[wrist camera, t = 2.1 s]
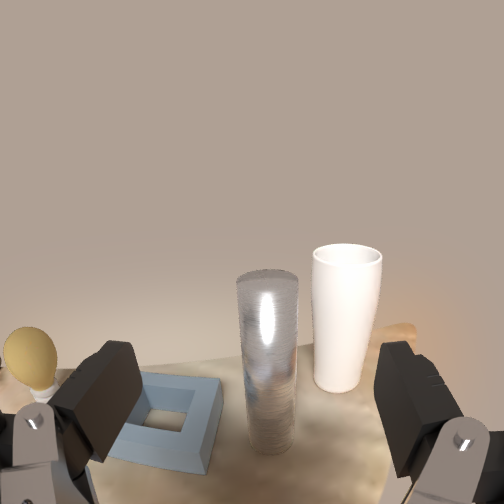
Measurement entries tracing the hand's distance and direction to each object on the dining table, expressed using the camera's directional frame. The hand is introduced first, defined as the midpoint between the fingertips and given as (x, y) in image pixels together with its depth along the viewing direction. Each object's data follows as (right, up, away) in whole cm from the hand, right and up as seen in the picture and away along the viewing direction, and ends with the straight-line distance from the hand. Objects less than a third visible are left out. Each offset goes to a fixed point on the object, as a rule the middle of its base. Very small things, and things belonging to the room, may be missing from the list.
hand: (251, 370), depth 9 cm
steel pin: (+2, -13, +16) cm, 21 cm away
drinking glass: (+10, -11, +23) cm, 27 cm away
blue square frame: (-8, -14, +17) cm, 23 cm away
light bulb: (-23, -14, +18) cm, 33 cm away
